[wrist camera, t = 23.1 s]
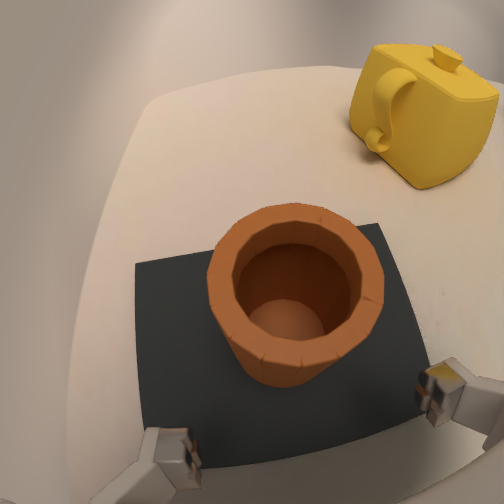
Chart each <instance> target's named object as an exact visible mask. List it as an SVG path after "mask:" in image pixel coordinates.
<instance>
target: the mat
mask: <svg viewBox="0 0 504 504" xmlns="http://www.w3.org/2000/svg"><path fill="white" fill-rule="evenodd" d="M356 227H357V228H358V230H359V231H360V232H361V233H362V234H363V235H364V236H365V237H366V238H367V239H368V240H369V242H370V243H371V244H372V246H373V247H374V249H375V251H376V254H377V256H378V259H379V261H380V264H381V266H382V269H383V272H384V304H383V308H382V310H381V312H380V315H379V317H378V319H377V321H376V323H375V325H374V327H373V329H372V330H371V332H370V334H369V335H368V336H367V338H366V339H365V340H364V341H362V342H361V343H360V344H359V345H357V346H356V347H355V348H353V349H352V350H351V351H350V352H348V353H347V354H346V355H344V356H343V357H342V358H340V359H339V360H338V361H336V362H335V363H333V364H332V365H331V366H329V367H328V368H326V369H325V370H323V371H322V372H321V373H319V374H318V375H316V376H315V377H313V378H312V379H310V380H309V381H307V382H306V383H304V384H301V385H297V386H294V387H288V388H277V387H271V386H267V385H264V384H262V383H260V382H258V381H256V380H255V379H254V378H252V377H251V376H250V375H248V374H247V373H246V372H245V370H244V368H243V367H242V365H241V364H240V362H239V361H238V359H237V358H236V356H235V354H234V352H233V350H232V349H231V347H230V345H229V343H228V341H227V339H226V337H225V336H224V334H223V332H222V330H221V328H220V326H219V324H218V322H217V320H216V318H215V317H214V315H213V313H212V311H211V307H210V304H209V295H208V287H207V278H206V277H207V271H208V267H209V264H210V261H211V258H212V255H213V252H214V250H210V251H204V252H198V253H193V254H187V255H181V256H175V257H170V258H164V259H158V260H152V261H147V262H141V263H136V264H135V330H136V352H137V368H138V381H139V391H140V401H141V410H142V418H143V426H144V432H145V430H146V428H147V427H179V426H190V427H191V428H192V430H193V432H194V439H196V440H197V441H198V443H199V445H200V449H201V455H202V465H201V466H200V467H199V468H198V469H207V468H220V467H231V466H240V465H248V464H255V463H262V462H268V461H274V460H279V459H285V458H290V457H294V456H299V455H303V454H308V453H312V452H316V451H320V450H324V449H328V448H331V447H335V446H338V445H342V444H345V443H348V442H352V441H355V440H358V439H361V438H364V437H367V436H370V435H372V434H375V433H378V432H381V431H383V430H386V429H389V428H391V427H394V426H396V425H399V424H401V423H403V422H406V421H408V420H410V419H413V418H415V417H417V416H419V415H422V414H424V413H426V412H425V411H422V410H420V409H419V407H418V406H417V404H416V402H415V397H414V393H415V388H416V387H417V385H418V384H419V383H420V382H419V381H418V380H417V379H418V375H419V373H420V372H421V371H422V370H424V369H427V368H429V367H430V363H429V360H428V356H427V353H426V349H425V346H424V342H423V339H422V336H421V333H420V329H419V326H418V323H417V320H416V317H415V314H414V311H413V308H412V306H411V303H410V300H409V297H408V294H407V292H406V289H405V286H404V284H403V281H402V278H401V276H400V273H399V271H398V268H397V266H396V263H395V261H394V258H393V256H392V254H391V251H390V249H389V247H388V244H387V242H386V240H385V237H384V235H383V233H382V231H381V229H380V226H379V224H378V223H374V224H368V225H361V226H356Z"/></svg>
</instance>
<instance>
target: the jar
mask: <svg viewBox="0 0 504 504" xmlns="http://www.w3.org/2000/svg"><path fill="white" fill-rule="evenodd" d="M206 278H207V287H208V295H209V304H210V307H211V311H212V313H213V315H214V317H215V318H216V320H217V322H218V324H219V326H220V328H221V330H222V332H223V334H224V336H225V337H226V339H227V341H228V343H229V345H230V347H231V349H232V350H233V352H234V354H235V356H236V358H237V359H238V361H239V362H240V364H241V365H242V367H243V368H244V370H245V372H246V373H247V374H248V375H250V376H251V377H252V378H254V379H255V380H256V381H258V382H260V383H262V384H264V385H267V386H271V387H277V388H288V387H294V386H297V385H301V384H304V383H306V382H307V381H309V380H310V379H312V378H313V377H315V376H316V375H318V374H319V373H321V372H322V371H323V370H325V369H326V368H328V367H329V366H331V365H332V364H333V363H335V362H336V361H338V360H339V359H340V358H342V357H343V356H344V355H346V354H347V353H348V352H350V351H351V350H352V349H353V348H355V347H356V346H357V345H359V344H360V343H361V342H362V341H364V340H365V339H366V338H367V336H368V335H369V334H370V332H371V330H372V329H373V327H374V325H375V323H376V321H377V319H378V317H379V315H380V312H381V310H382V308H383V304H384V272H383V269H382V266H381V264H380V261H379V259H378V256H377V254H376V251H375V249H374V247H373V246H372V244H371V243H370V242H369V240H368V239H367V238H366V237H365V236H364V235H363V234H362V233H361V232H360V231H359V230H358V228H357V227H356V226H355V225H354V224H351V222H350V221H349V220H347V219H345V218H343V217H341V216H339V215H337V214H335V213H334V212H332V211H330V210H328V209H324V208H323V207H318V206H312V205H306V204H300V203H289V204H282V205H275V206H269V207H265V208H261V209H259V210H257V211H255V212H254V213H252V214H250V215H248V216H246V217H244V218H242V219H240V220H238V221H237V223H235V224H234V225H233V226H232V228H231V229H230V230H229V231H228V232H227V233H226V234H225V235H224V237H223V238H222V239H221V240H220V241H219V242H218V245H216V246H215V249H214V252H213V255H212V258H211V261H210V264H209V267H208V271H207V277H206Z"/></svg>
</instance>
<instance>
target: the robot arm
mask: <svg viewBox="0 0 504 504" xmlns="http://www.w3.org/2000/svg"><path fill="white" fill-rule="evenodd" d="M417 380H418V381H419V382H420V383H419V384H418V385H417V387H416V388H415V393H414V397H415V402H416V404H417V406H418V407H419V409H420V410H422V411H425V412H427V413H426V418H427V419H428V420H429V422H430V423H431V424H432V426H433V427H434V428H436V427H438V426H440V425H442V424H444V423H446V422H448V421H450V420H451V419H452V421H454V422H457V423H459V424H461V425H464V426H466V427H468V428H471V429H473V430H475V431H478V432H480V433H483V434H485V435H487V436H488V437H487V438H486V440H485V442H484V444H483V447H482V448H483V449H484V450H485V453H483V454H482V455H481V456H479V457H478V458H476V459H475V460H473V461H472V462H470V463H469V464H467V465H466V466H464V467H463V468H461V469H460V470H458V471H456V472H455V473H453V474H451V475H450V476H448V477H446V478H445V479H443V480H441V481H439V482H438V483H436V484H434V485H432V486H430V487H428V488H426V489H424V490H422V491H420V492H418V493H416V494H414V495H412V496H410V497H408V498H406V499H404V500H402V501H399V502H397V503H395V504H504V382H503V381H499V380H494V379H490V378H485V377H481V376H479V377H476V376H475V375H474V374H472V373H471V372H470V371H469V370H468V369H467V368H466V367H464V366H463V365H462V364H461V363H460V362H459V361H458V360H457V359H455V358H453V357H451V358H448V359H446V360H444V361H442V362H440V363H438V364H435V365H433V366H431V367H429V368H427V369H424V370H422V371H421V372H420V373H419V375H418V379H417ZM201 465H202V455H201V449H200V445H199V443H198V441H197V440H196V439H194V432H193V430H192V428H191V427H190V426H179V427H147V428H146V430H145V432H144V436H143V440H142V444H141V449H140V453H139V457H138V461H137V462H133V463H132V464H131V465H130V466H128V467H127V468H126V469H125V470H124V471H123V472H122V473H120V474H119V475H118V476H117V477H116V478H115V479H114V480H112V481H111V482H110V483H109V484H108V485H106V486H105V487H104V488H103V489H102V490H100V491H99V492H98V493H97V494H96V495H94V496H93V497H92V498H91V499H90V502H89V504H168V503H169V502H170V500H171V499H172V498H173V496H174V495H175V494H176V492H177V490H194V489H201V477H202V474H201V472H200V470H199V469H198V468H199V467H200V466H201ZM0 504H15V503H13V502H11V501H8V500H5V499H0Z"/></svg>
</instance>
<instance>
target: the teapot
mask: <svg viewBox="0 0 504 504" xmlns="http://www.w3.org/2000/svg"><path fill="white" fill-rule="evenodd" d="M462 61H463V58H462V57H461V56H460V55H459V54H457V53H456V52H454V51H453V50H451V49H449V48H446V47H444V46H441V45H437V44H433V47H428V46H422V45H412V44H382V45H376V46H375V47H373V48H372V50H371V52H370V54H369V56H368V59H367V61H366V63H365V65H364V68H363V70H362V72H361V75H360V77H359V80H358V83H357V86H356V89H355V92H354V95H353V99H352V103H351V107H350V123H351V129H352V130H353V131H354V132H355V133H356V134H357V135H358V136H359V137H360V138H361V139H362V140H363V141H364V142H365V143H366V145H367V147H368V148H369V149H370V150H371V151H373V152H376V153H377V154H378V155H380V156H381V157H382V158H383V159H384V160H385V161H386V162H387V163H388V164H389V165H390V166H392V167H393V168H394V169H395V170H396V171H397V172H398V173H399V174H400V175H401V176H402V177H403V178H404V179H406V180H407V181H408V182H409V183H410V184H411V185H412V186H414V187H415V188H417V189H427V188H430V187H433V186H436V185H438V184H441V183H443V182H446V181H448V180H450V179H452V178H454V177H455V176H457V175H458V174H460V173H461V172H462V171H463V170H465V169H466V168H467V167H468V166H469V165H470V164H471V163H472V162H473V161H474V160H475V159H476V158H477V157H478V155H479V154H480V152H481V150H482V149H483V147H484V145H485V142H486V140H487V138H488V135H489V133H490V130H491V127H492V124H493V120H494V117H495V113H496V109H497V104H498V99H499V92H498V90H497V89H495V88H494V87H493V86H492V85H490V84H489V83H488V82H487V81H485V80H484V79H483V78H482V77H481V76H479V75H478V74H477V73H475V72H474V71H472V70H470V69H468V68H467V67H465V66H464V65H462V64H461V63H462Z"/></svg>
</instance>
